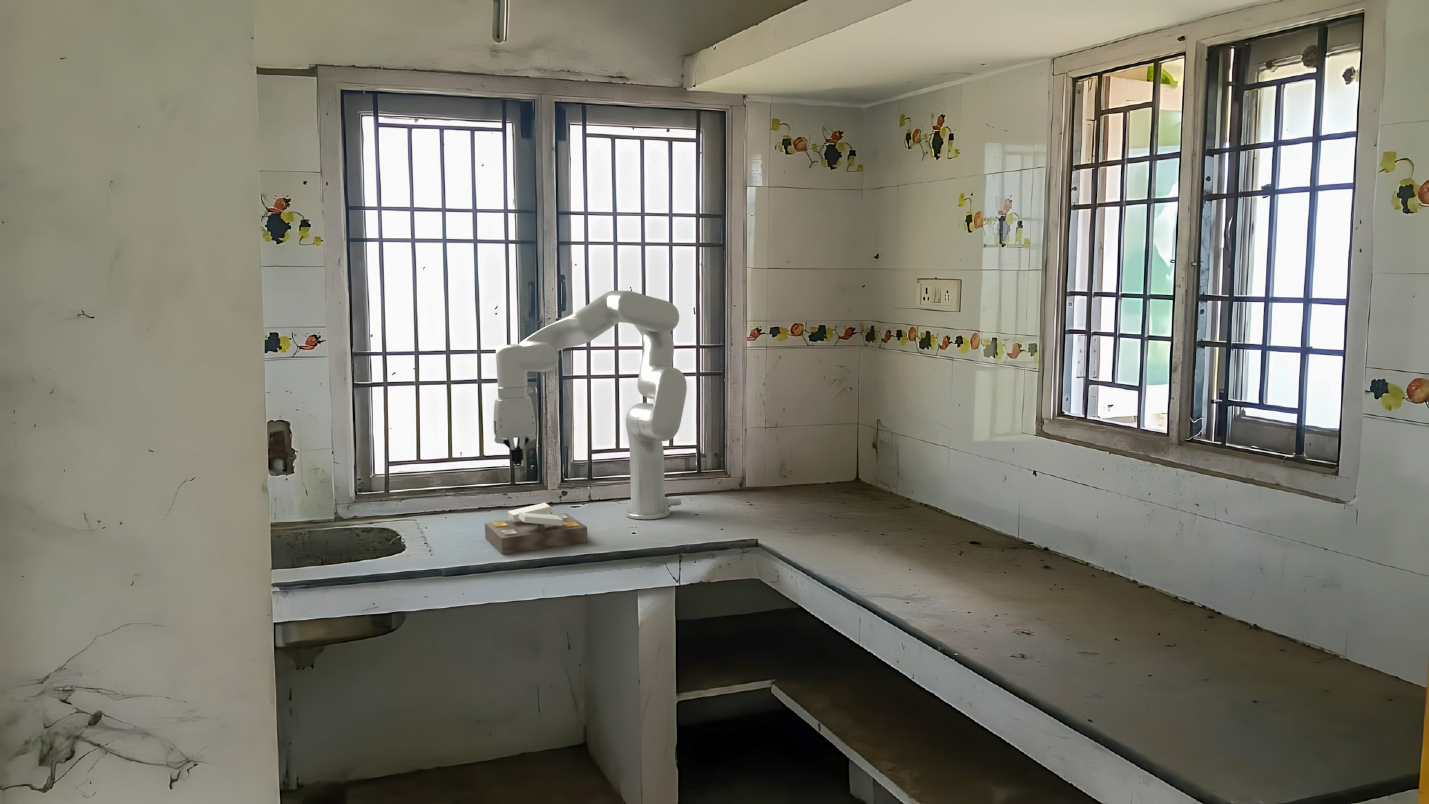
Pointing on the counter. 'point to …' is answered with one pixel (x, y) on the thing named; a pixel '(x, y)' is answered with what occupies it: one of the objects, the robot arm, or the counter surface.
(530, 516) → the rocker near
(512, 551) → the switch unit
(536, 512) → the rocker far
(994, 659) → the counter surface
